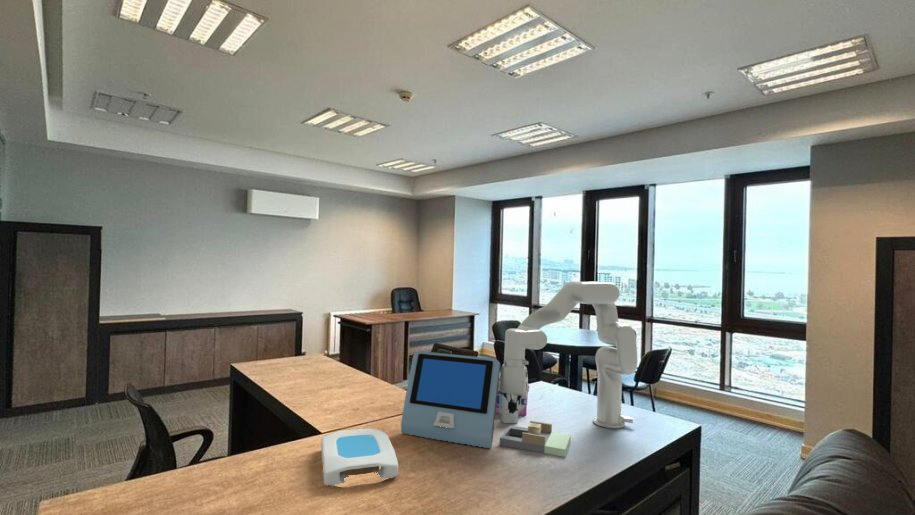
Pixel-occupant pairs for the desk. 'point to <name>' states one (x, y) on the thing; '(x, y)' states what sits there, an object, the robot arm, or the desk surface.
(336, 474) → the white step stool
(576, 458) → the desk surface
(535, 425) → the birch block
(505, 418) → the skincare box
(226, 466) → the desk surface
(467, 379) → the touchscreen device
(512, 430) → the board
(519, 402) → the gum box
